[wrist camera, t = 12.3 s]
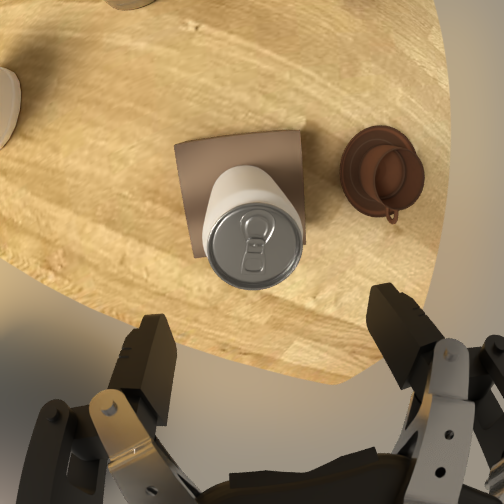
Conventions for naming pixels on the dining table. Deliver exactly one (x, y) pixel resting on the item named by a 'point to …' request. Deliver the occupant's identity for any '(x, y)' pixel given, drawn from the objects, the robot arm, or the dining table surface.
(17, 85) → the bottle
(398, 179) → the cup and saucer
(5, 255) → the dining table surface
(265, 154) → the walnut block
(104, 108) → the dining table surface
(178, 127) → the dining table surface
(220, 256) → the can
